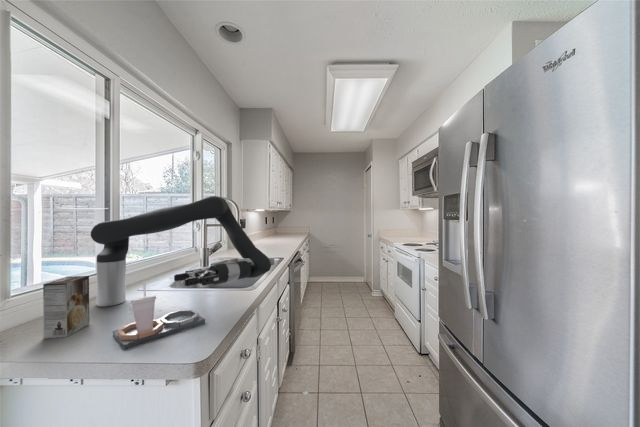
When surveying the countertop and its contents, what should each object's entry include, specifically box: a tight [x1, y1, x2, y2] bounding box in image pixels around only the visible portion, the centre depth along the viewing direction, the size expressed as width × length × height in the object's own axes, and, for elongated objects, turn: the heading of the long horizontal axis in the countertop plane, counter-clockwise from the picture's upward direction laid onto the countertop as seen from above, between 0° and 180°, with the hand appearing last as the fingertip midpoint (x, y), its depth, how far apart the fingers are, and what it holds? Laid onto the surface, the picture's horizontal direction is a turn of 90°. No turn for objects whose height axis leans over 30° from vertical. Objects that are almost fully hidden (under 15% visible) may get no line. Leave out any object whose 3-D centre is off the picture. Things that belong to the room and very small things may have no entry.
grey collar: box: [160, 309, 200, 326], centre depth 85 cm, size 10×10×1 cm
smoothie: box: [129, 282, 157, 333], centre depth 77 cm, size 6×6×14 cm
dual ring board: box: [112, 314, 206, 351], centre depth 81 cm, size 12×22×2 cm, turn 140°
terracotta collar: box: [117, 318, 163, 340], centre depth 77 cm, size 10×10×1 cm
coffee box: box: [42, 275, 90, 339], centre depth 80 cm, size 9×6×16 cm
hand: (179, 280), depth 86 cm, fingers open, 8 cm apart
